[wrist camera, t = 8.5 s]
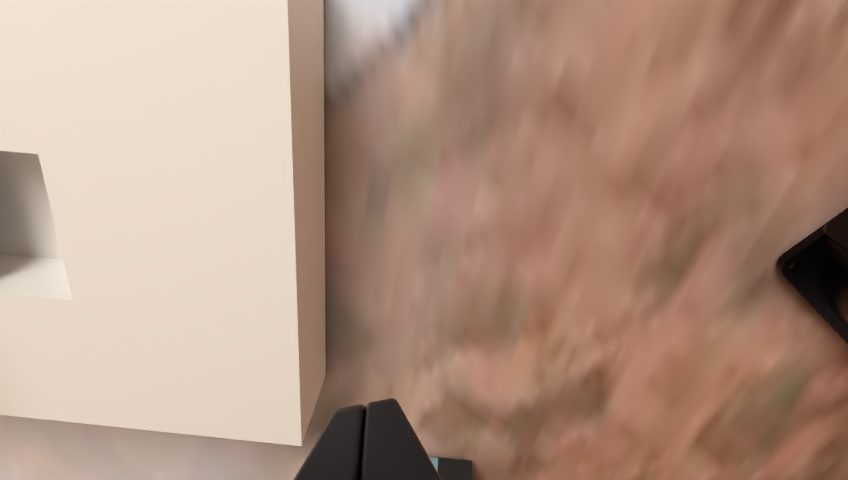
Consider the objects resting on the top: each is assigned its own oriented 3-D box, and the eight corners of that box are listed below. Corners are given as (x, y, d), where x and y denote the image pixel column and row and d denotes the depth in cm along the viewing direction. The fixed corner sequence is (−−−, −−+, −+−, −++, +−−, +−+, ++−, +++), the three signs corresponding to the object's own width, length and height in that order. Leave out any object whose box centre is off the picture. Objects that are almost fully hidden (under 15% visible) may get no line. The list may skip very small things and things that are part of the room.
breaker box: (323, -35, 17) (286, -36, 14) (325, 375, 24) (301, 446, 21) (-300, -85, 18) (-494, -100, 14) (-122, 330, 25) (-221, 391, 21)
